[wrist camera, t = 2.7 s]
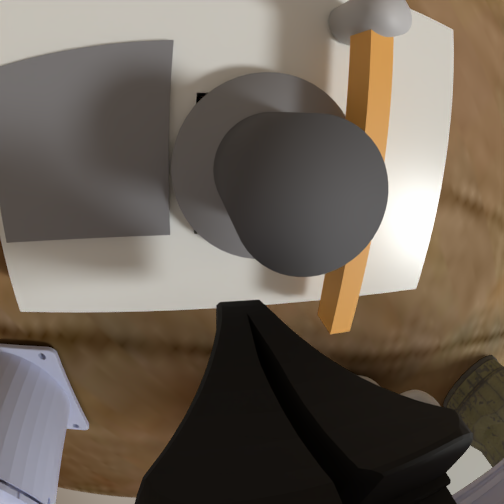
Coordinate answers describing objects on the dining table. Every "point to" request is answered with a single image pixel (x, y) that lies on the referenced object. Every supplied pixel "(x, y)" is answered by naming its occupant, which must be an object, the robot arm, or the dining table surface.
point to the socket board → (163, 139)
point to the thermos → (482, 406)
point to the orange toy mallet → (363, 121)
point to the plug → (279, 175)
